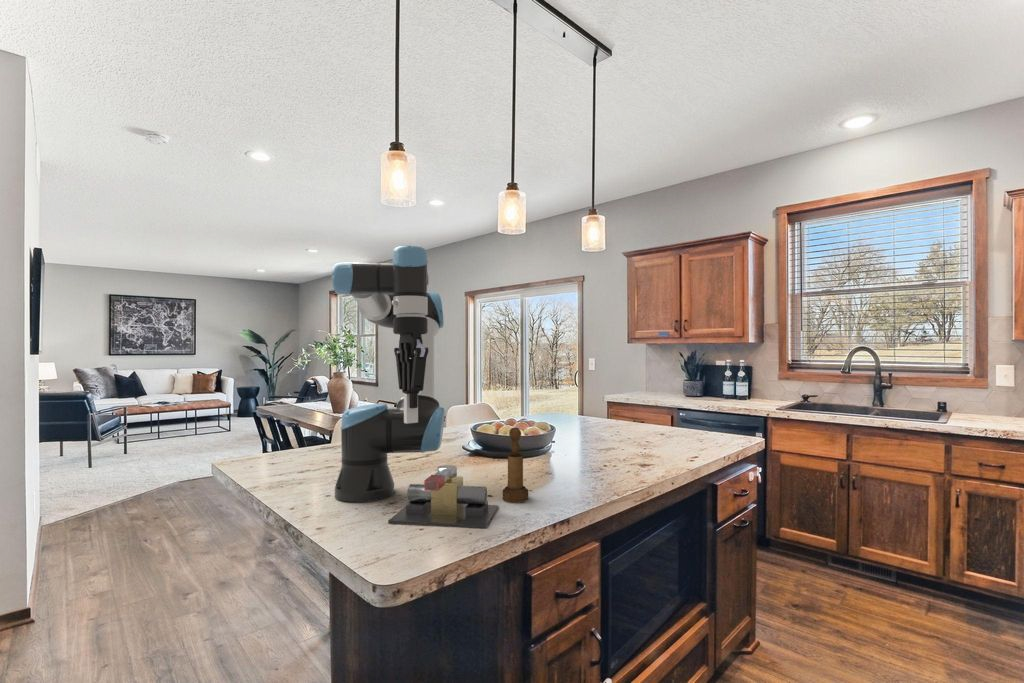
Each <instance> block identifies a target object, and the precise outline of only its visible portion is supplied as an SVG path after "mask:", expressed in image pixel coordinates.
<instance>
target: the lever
mask: <svg viewBox="0 0 1024 683" xmlns="http://www.w3.org/2000/svg"><path fill="white" fill-rule="evenodd" d="M456 476H458V466H456V465H452V464H445V465H440V466H437V472H436V473H434V474H431V475H430V476H428V477H427V478H426V479H425V480H424V482H423V484H424V490H430V491H439V490H440V489H441V488H442V487H443V486H444V485H445V482H446V481H447V480H448V479H449V478H454V477H456Z"/></svg>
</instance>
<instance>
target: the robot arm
mask: <svg viewBox="0 0 1024 683" xmlns="http://www.w3.org/2000/svg"><path fill="white" fill-rule="evenodd" d="M392 252H393V253H392V260H391V261H392V262H351V261H348V262H345V261H344V262H336V263H335V264H334V265H333V268H332V271H331V272H332V274H331V279H332V280H331V283H332V288H333V291H334V292H335V293H336V294H338V295H346V296H349V295H351V297H352V298H353V299H354V300H355V303H357V305H358V306H357V307H358V310H359V312H360V314H361V315H362V316H363V318H364V319H365V320H367V321H369V322H371V323H372V324H375V325H377V326H381V327H383V328H387V329H388V328H389V329H392V330H393V331H392V332H393V334H394V335H399V341H398V347H394V348H393V352H394V356H395V362H396V371H397V372H396V373H397V382H398V388H399V390H401V391H402V397H401V398H400V399H398V401H397V403H396V408H389V406H388V405H387V403H384V402H383V403H372V404H365V405H360V406H356V407H355V406H354V407H351V408H348V409H346V410H345V411H344V412H343V413H342V415H341V425H340V431H341V432H340V434H341V437H340V438H341V467H340V470H339V473H338V476H337V480H336V483H335V487H334V498H335V500H338V501H341V502H349V503H362V502H365V503H366V502H373V501H378V500H382V499H385V498H388V497H390V496H393V494H394V493H395V482H394V479H393V476H392V472H391V470H390V467H389V464H388V454H405V453H407V454H408V453H410V454H411V453H422V454H424V453H428V452H429V453H430V452H437V451H438V450H440V447H441V445H442V440H443V434H444V425H445V424H444V422H445V414H446V410H445V408H444V407H441V406H440V402H439V400H437V399H436V398H435V336H437V335H438V333H439V331H440V329H442V328H444V311H443V304H442V299H441V295H440V294H439V293H438V292H435V291H428V285H429V274H428V264H429V263H428V262H429V261H428V253H427V252H428V251H427V249H425V248H424V247H422V246H417V245H401V246H397V247H395V248H394V249H393V251H392Z"/></svg>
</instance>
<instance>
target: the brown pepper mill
mask: <svg viewBox="0 0 1024 683" xmlns="http://www.w3.org/2000/svg"><path fill="white" fill-rule="evenodd" d="M508 435H509V438H510V439H511V441H512V443H511V445H510V450H511V453H509V454H507V485H506V486H505V487H504V488H502V500H503V501H504V502H506V503H514V504H516V503H517V504H519V503H525V502H527V501H528V500H529V489H528V488H527V487H526V486H525V485H524V455H523V454H521V453H520V448H521V447H520V446H521V445H519V440H520V438H521V435H522V431H521V429H520V428H519V427H511V429H509V431H508Z"/></svg>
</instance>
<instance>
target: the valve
mask: <svg viewBox="0 0 1024 683" xmlns="http://www.w3.org/2000/svg"><path fill="white" fill-rule="evenodd" d="M406 497H407V500H408V502H407V503H406V504H405V506H404V507H402V508H401V509H400V510H399V511H398V512H397V513H395V514H394V515H393V516H392V517H391V518H390V519H388V522H387V523H388V524H390V525H391V524H392V525H395V524H396V525H408V526H409V525H410V526H411V525H412V526H413V525H414V526H432V527H434V526H436V527H452V528H453V527H454V528H469V529H470V528H471V529H472V528H473V529H476V528H477V529H487V528H488V527H489V525H490V523H491V522H492V520H493V518H494V516H495V515H496V512H497V511H498V509H499V505H498V504H489V500H488V488H487V486H480V485H479V486H474V485H464V476H459V475H457V476H456V477H454V478H449V479H448V480H447V481H446V482H445V485H444V486H443V487H442V488H441V489H440V490H439V491H430V490H424V483H423V484H422V483H410V484H409V486H408V488H407V496H406Z"/></svg>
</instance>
